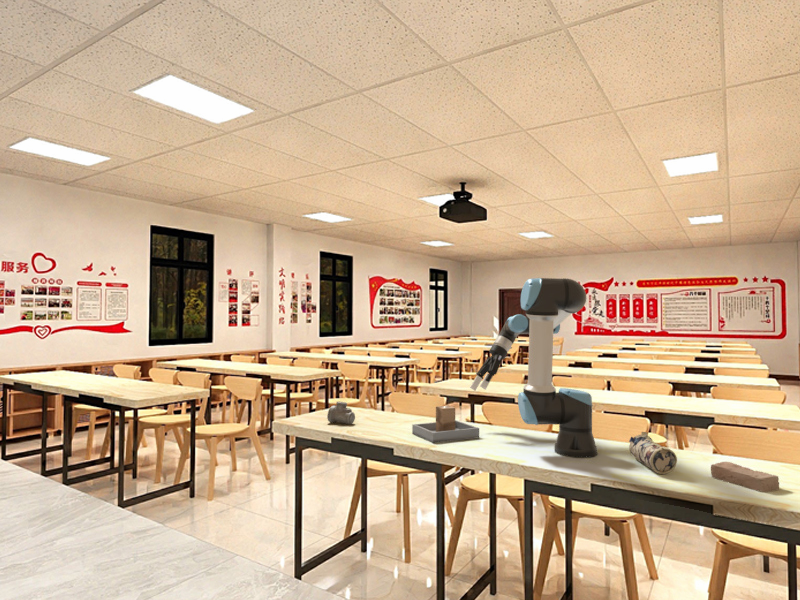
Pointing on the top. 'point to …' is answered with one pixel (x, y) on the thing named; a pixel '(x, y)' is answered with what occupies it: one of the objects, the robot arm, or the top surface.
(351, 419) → the pipe fitting
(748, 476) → the brick
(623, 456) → the top surface
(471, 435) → the tray
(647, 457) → the pencil case
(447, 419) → the bored block
